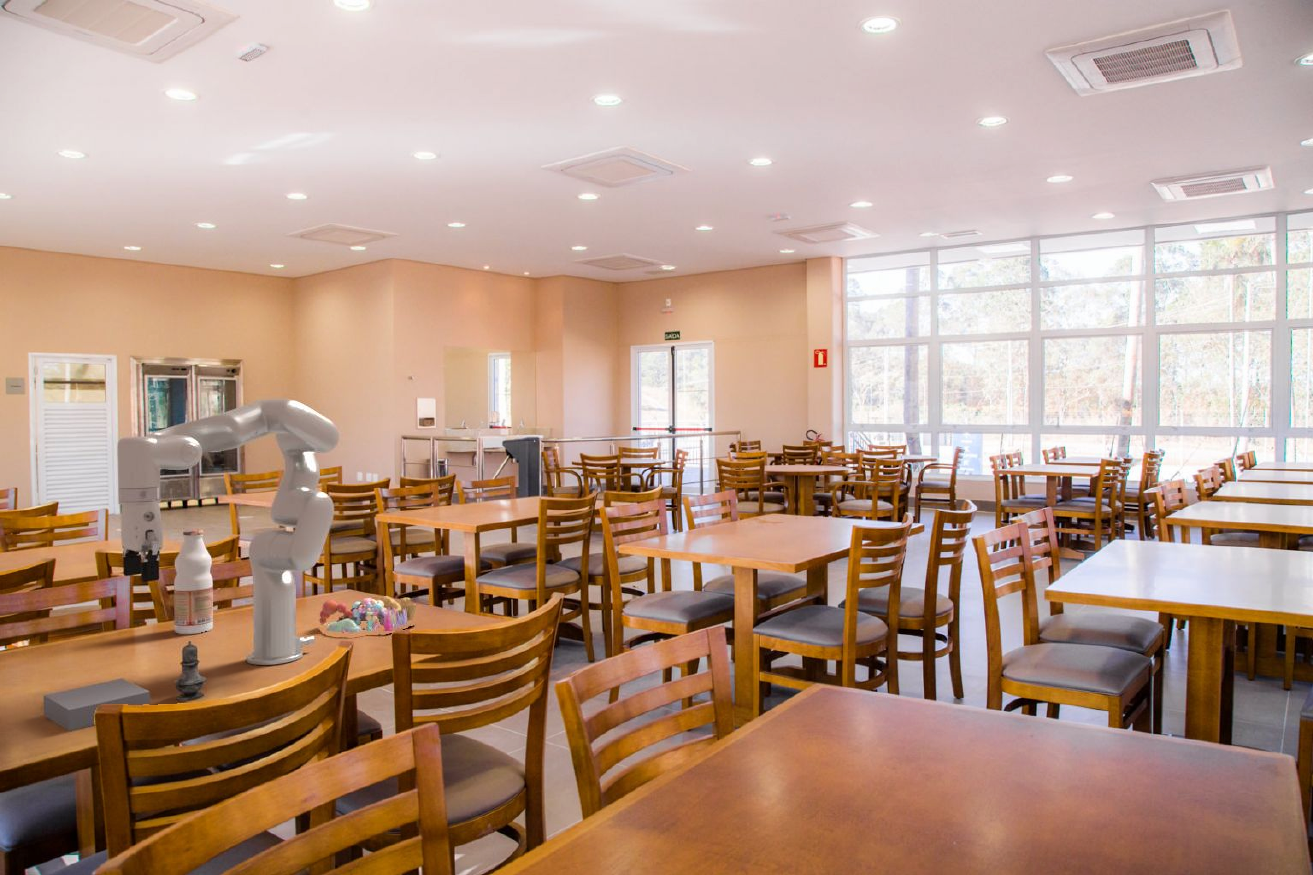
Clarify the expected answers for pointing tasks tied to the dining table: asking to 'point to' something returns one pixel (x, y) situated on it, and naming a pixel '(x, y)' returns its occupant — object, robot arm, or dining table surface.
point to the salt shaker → (189, 675)
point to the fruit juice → (193, 586)
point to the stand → (90, 702)
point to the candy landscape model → (368, 614)
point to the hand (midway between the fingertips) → (141, 577)
